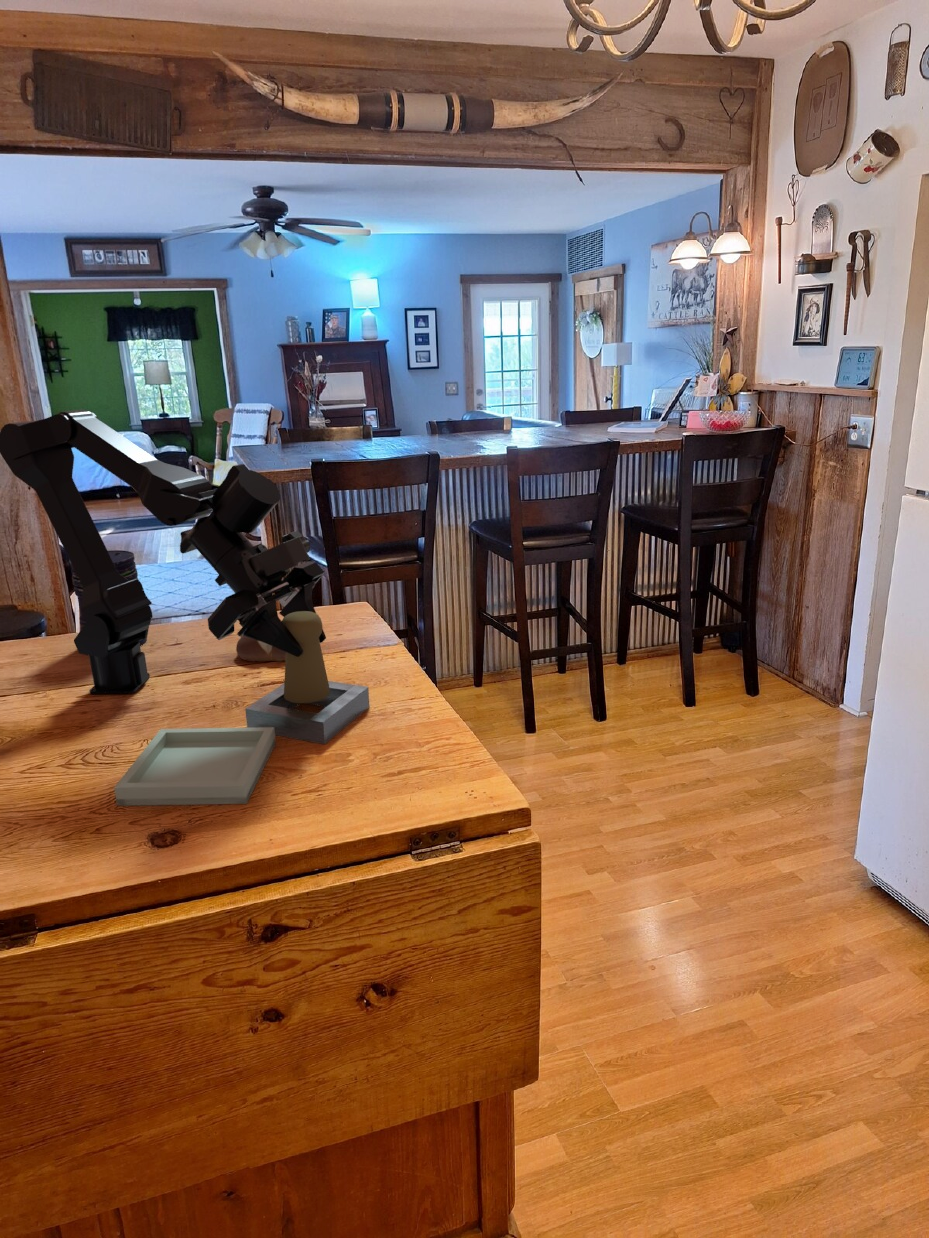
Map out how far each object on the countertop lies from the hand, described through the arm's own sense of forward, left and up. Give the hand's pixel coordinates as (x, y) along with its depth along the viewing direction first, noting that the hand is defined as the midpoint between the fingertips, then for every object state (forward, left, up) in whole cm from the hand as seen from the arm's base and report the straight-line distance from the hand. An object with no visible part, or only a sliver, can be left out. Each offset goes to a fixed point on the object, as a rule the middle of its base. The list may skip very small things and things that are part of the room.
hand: (312, 647), depth 103 cm
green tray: (-11, -13, -10) cm, 20 cm away
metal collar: (-1, +1, -10) cm, 10 cm away
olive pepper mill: (-1, +1, -7) cm, 7 cm away
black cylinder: (-39, +31, -10) cm, 51 cm away
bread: (-12, +26, -11) cm, 31 cm away
